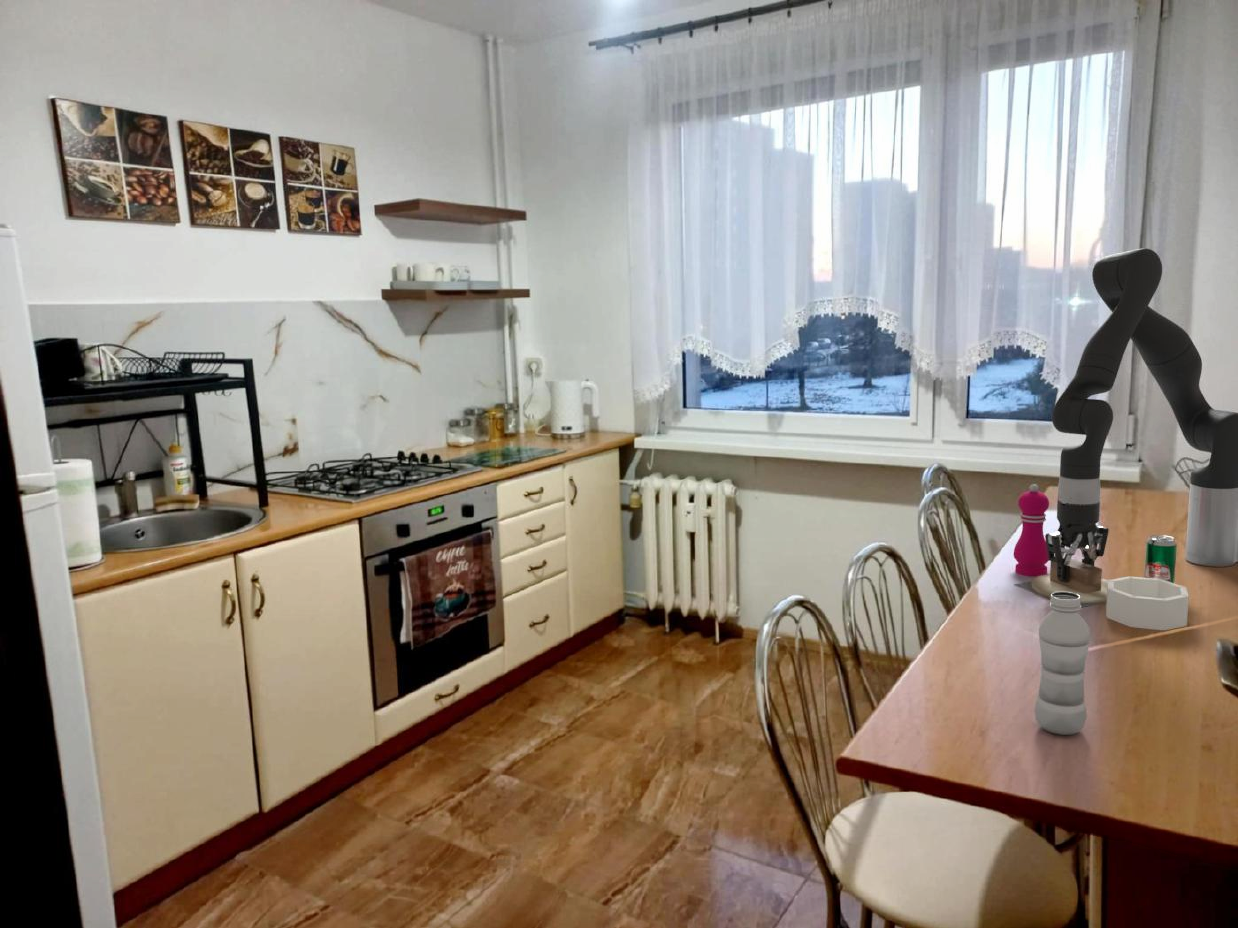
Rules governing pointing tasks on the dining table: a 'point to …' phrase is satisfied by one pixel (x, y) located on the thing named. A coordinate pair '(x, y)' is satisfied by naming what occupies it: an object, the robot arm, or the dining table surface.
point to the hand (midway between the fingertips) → (1075, 579)
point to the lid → (1074, 583)
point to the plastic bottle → (1062, 666)
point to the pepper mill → (1032, 534)
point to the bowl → (1147, 603)
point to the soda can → (1160, 558)
